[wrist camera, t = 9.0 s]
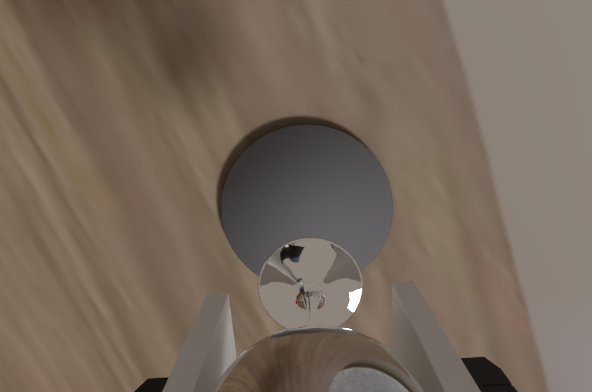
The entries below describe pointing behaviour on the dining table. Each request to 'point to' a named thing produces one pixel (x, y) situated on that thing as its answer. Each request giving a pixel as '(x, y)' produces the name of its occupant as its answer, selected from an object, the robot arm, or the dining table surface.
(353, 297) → the wineglass
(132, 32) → the dining table surface
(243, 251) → the coaster
